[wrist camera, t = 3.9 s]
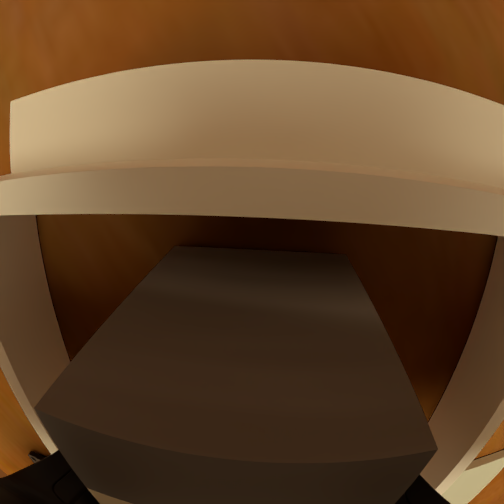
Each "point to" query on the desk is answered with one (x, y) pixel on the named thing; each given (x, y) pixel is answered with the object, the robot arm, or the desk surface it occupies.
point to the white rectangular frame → (258, 190)
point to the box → (241, 388)
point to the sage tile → (474, 478)
